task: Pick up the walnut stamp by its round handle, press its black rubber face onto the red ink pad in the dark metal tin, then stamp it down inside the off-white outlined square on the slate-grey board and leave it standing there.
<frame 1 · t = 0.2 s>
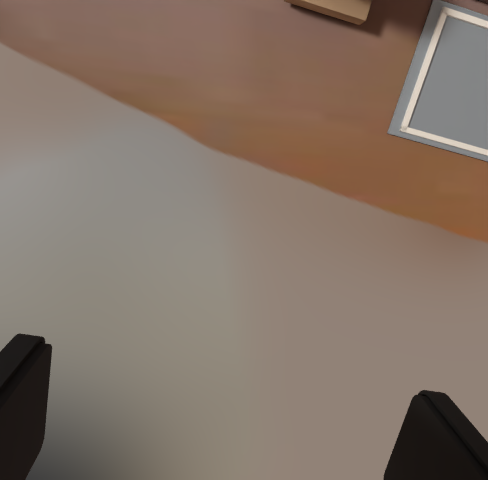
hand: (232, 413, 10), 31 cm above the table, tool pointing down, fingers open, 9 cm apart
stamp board: (471, 87, 38), on the table
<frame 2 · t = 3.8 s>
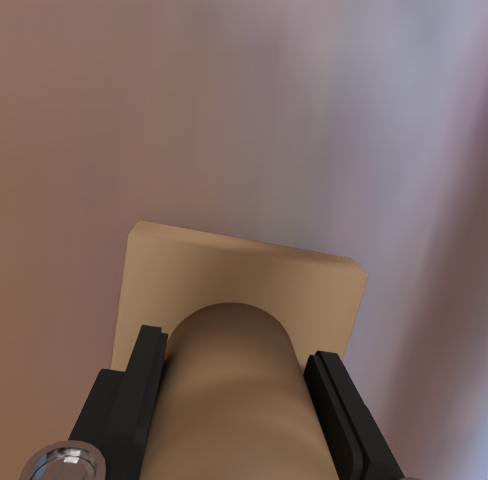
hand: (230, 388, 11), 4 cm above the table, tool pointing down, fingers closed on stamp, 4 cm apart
stamp: (227, 324, 15), on the table, touching gripper
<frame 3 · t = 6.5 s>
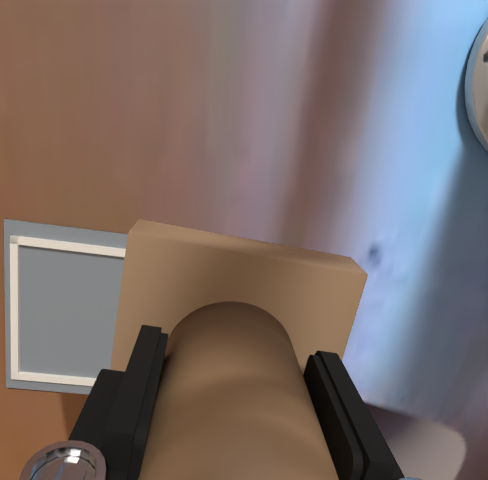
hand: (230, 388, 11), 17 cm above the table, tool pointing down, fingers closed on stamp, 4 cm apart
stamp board: (93, 316, 29), on the table
stamp: (226, 323, 15), point 14 cm above the table, touching gripper
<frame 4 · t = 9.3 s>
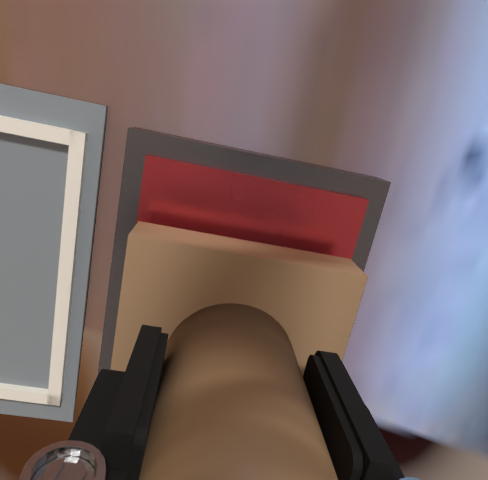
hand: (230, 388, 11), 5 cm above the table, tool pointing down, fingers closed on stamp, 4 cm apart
stamp: (226, 324, 15), point 2 cm above the table, touching gripper
ink pad: (229, 302, 16), on the table
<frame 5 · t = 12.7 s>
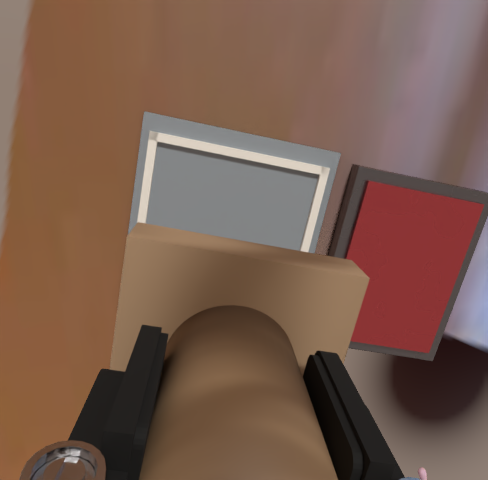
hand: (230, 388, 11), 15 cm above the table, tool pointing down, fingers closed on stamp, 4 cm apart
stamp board: (224, 235, 26), on the table
stamp: (226, 326, 14), point 12 cm above the table, touching gripper
ink pad: (391, 265, 27), on the table
when the fingers open (4 cm above the table, at t = 15.0 s): stamp stays where it is, resting on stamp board.
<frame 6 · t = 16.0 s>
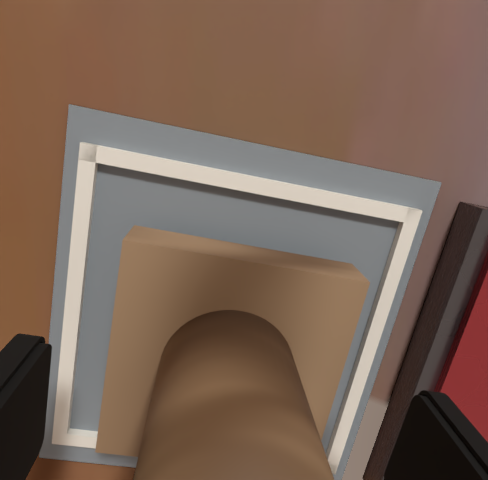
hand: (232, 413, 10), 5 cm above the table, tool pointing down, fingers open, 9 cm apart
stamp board: (226, 326, 14), on the table
stamp: (225, 330, 14), resting on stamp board
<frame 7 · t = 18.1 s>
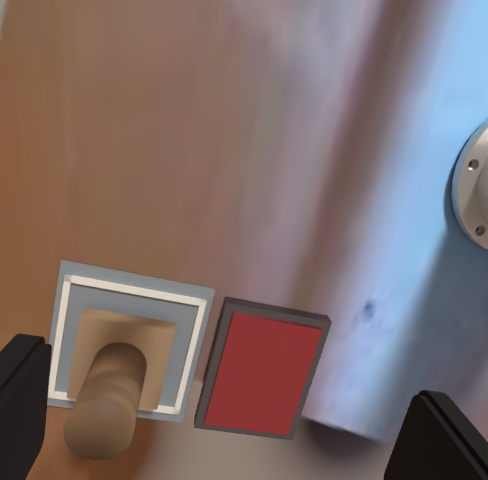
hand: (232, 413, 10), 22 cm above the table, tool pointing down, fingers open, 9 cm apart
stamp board: (126, 346, 33), on the table
stamp: (125, 348, 33), resting on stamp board
ink pad: (259, 367, 35), on the table
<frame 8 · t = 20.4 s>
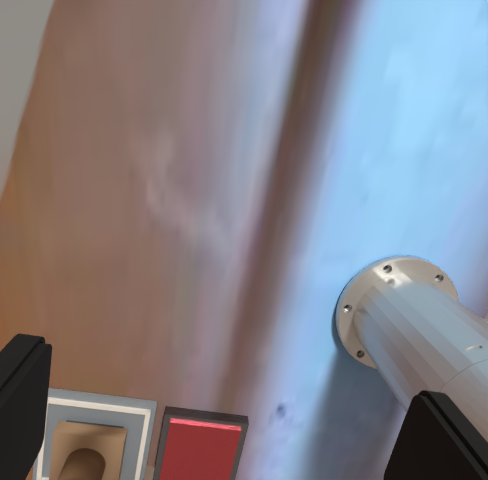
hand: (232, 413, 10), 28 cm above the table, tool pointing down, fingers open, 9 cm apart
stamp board: (93, 444, 44), on the table
stamp: (92, 446, 44), resting on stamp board
ink pad: (197, 455, 45), on the table
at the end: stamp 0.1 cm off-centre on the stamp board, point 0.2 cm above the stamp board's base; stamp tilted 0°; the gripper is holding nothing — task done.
